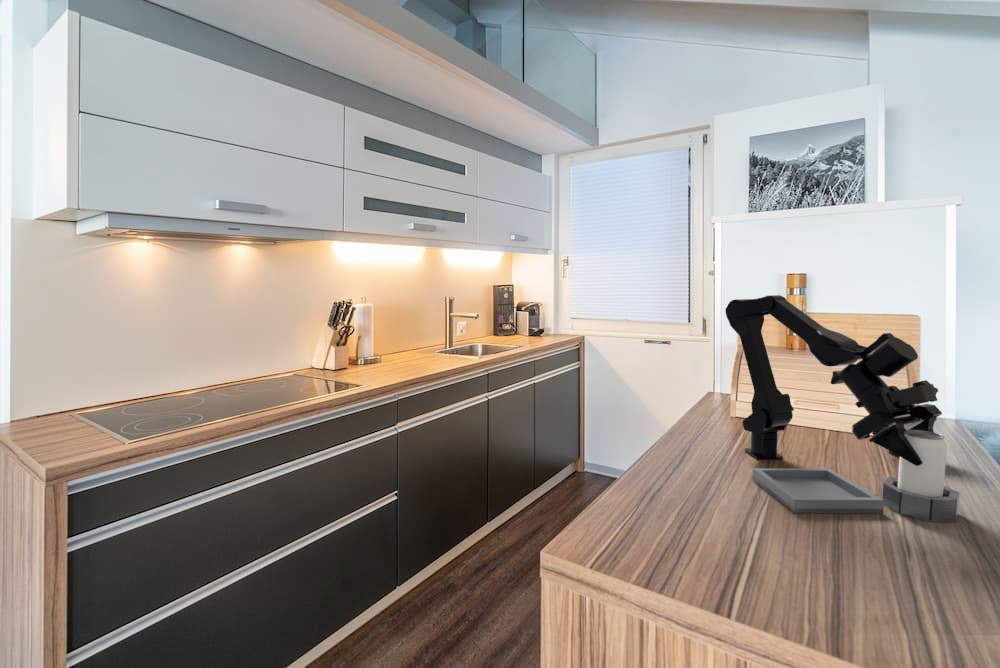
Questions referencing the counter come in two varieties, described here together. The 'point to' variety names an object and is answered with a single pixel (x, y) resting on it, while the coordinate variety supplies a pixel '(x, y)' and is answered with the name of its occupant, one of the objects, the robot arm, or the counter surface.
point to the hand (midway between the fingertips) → (930, 462)
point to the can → (924, 464)
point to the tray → (816, 491)
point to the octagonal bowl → (921, 503)
